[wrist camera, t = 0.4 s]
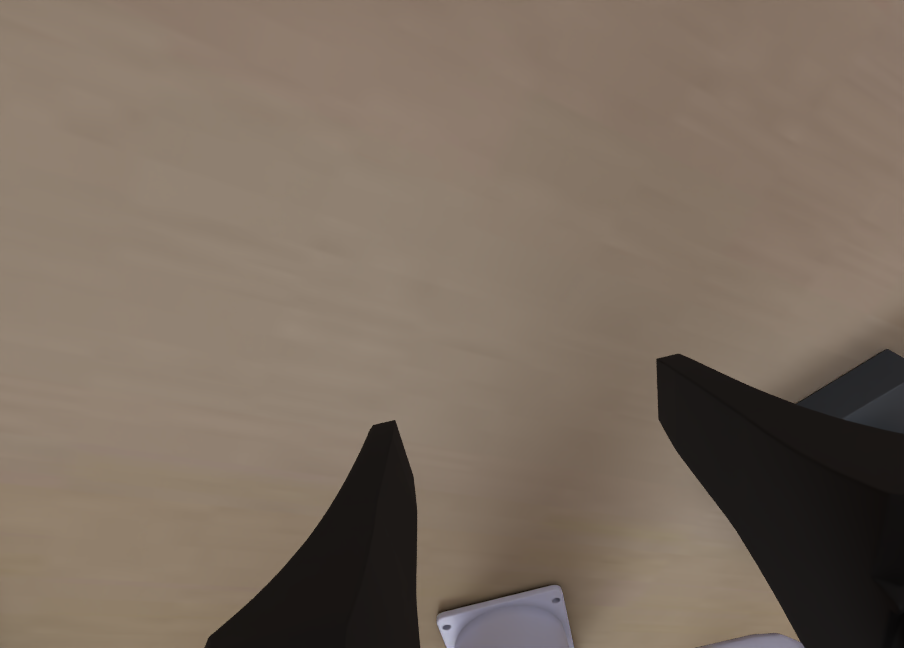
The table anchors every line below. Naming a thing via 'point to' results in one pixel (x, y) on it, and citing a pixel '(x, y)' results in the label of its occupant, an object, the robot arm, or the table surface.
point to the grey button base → (866, 394)
